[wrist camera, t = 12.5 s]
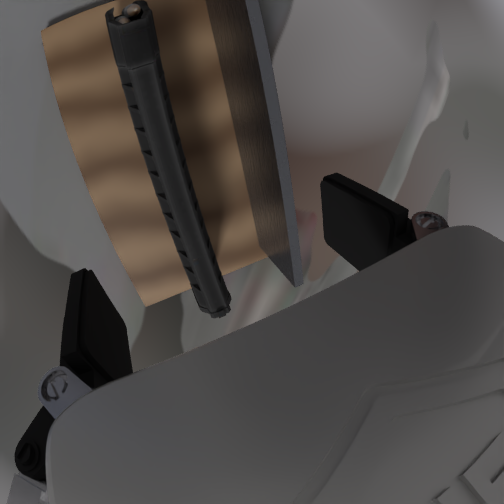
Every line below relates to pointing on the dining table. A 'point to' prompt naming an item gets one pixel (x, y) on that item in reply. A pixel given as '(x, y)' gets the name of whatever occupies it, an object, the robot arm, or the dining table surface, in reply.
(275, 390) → the robot arm
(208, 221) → the shelf board
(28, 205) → the dining table surface
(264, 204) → the shelf wall
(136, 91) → the magazine
